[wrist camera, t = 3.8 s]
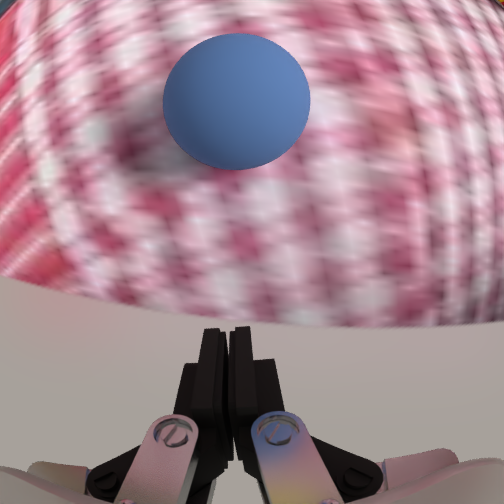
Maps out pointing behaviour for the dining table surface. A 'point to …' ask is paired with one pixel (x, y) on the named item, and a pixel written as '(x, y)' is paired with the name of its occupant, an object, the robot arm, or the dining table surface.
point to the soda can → (500, 2)
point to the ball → (236, 101)
